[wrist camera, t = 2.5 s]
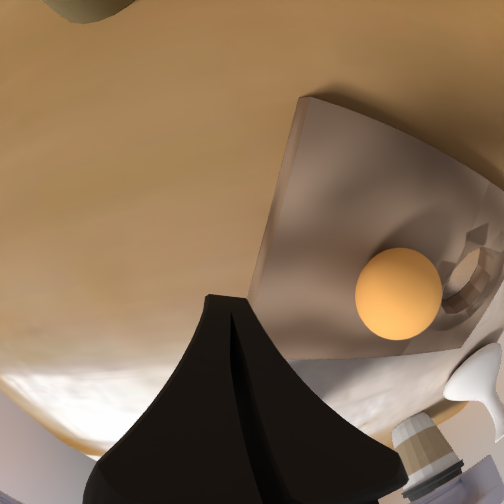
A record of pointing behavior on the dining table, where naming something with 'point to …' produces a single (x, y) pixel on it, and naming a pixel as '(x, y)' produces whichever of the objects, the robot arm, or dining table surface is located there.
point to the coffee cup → (424, 456)
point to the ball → (398, 293)
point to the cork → (87, 9)
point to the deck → (368, 234)
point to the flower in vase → (479, 383)
